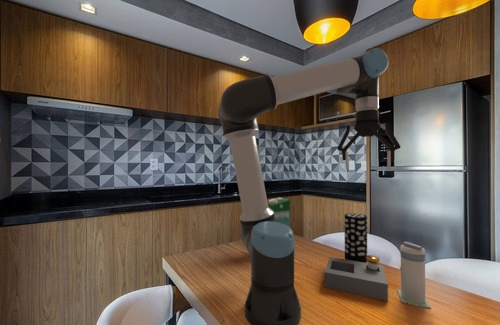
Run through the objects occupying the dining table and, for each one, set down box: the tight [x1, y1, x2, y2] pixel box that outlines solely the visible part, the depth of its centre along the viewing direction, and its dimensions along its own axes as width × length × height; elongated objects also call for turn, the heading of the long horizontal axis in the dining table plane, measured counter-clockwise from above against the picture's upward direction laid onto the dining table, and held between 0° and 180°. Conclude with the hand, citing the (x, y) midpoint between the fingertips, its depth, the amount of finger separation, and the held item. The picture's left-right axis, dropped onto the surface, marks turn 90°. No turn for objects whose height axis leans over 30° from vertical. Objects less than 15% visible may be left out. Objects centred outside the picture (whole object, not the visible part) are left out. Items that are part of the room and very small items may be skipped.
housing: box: [324, 256, 389, 302], centre depth 79 cm, size 14×18×5 cm
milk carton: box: [267, 196, 291, 228], centre depth 106 cm, size 9×9×25 cm
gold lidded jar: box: [366, 254, 380, 272], centre depth 79 cm, size 4×4×6 cm
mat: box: [397, 289, 432, 310], centre depth 70 cm, size 7×7×1 cm
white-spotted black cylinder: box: [344, 212, 368, 263], centre depth 93 cm, size 8×8×20 cm
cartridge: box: [399, 241, 426, 304], centre depth 70 cm, size 6×6×16 cm
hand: (367, 169), depth 84 cm, fingers open, 13 cm apart
